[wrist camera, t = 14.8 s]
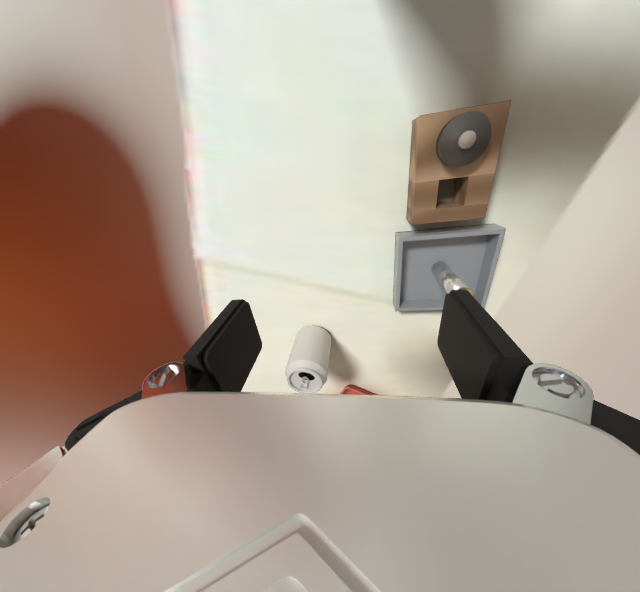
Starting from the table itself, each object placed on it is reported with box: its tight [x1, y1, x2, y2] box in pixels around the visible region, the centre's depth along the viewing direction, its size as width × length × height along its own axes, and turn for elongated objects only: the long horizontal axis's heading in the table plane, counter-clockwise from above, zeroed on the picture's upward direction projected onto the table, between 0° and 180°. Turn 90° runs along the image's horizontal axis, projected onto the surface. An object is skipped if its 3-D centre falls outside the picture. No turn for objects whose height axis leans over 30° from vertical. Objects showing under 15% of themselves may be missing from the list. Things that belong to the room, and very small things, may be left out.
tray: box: [393, 224, 506, 311], centre depth 37 cm, size 13×14×3 cm
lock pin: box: [431, 261, 475, 298], centre depth 33 cm, size 2×2×10 cm
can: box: [285, 325, 331, 394], centre depth 44 cm, size 8×8×12 cm
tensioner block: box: [407, 100, 511, 225], centre depth 28 cm, size 12×9×6 cm
